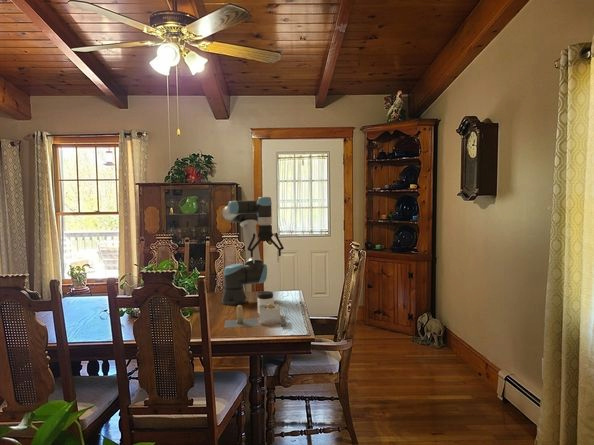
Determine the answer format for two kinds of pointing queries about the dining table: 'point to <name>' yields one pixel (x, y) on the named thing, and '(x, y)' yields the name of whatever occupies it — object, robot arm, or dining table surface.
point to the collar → (269, 314)
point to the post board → (249, 320)
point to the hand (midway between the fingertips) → (265, 262)
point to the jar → (265, 299)
